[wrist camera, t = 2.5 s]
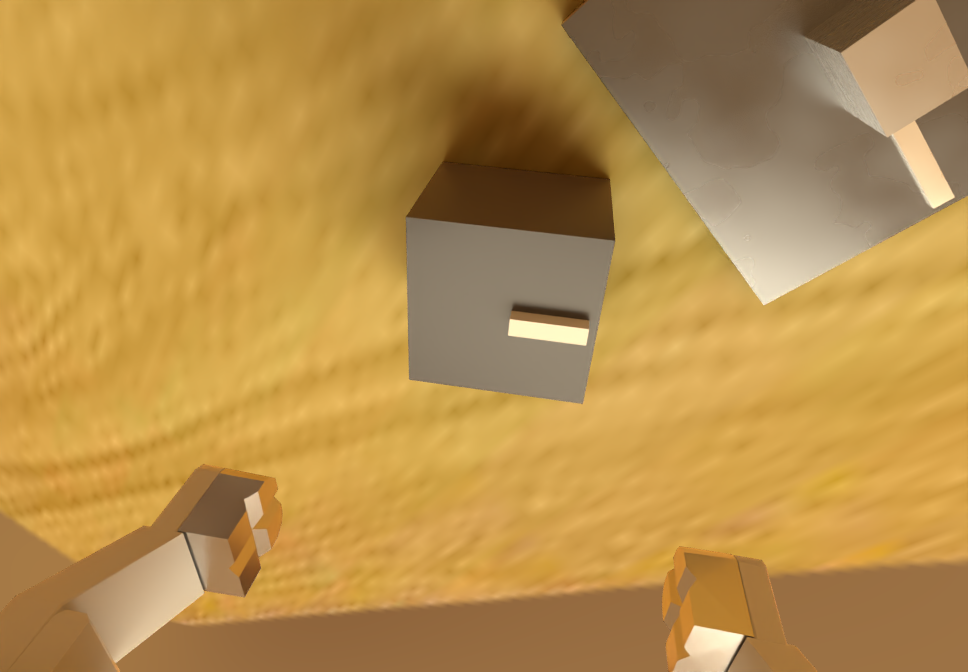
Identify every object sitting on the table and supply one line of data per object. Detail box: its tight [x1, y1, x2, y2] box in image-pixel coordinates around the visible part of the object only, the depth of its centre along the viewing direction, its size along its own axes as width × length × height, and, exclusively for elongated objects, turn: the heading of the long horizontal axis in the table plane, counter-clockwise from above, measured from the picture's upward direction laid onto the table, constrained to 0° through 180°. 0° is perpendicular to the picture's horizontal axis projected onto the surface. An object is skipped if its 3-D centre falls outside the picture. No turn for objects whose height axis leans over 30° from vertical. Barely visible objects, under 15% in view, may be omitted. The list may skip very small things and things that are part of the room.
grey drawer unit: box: [406, 162, 615, 404], centre depth 20 cm, size 6×6×6 cm
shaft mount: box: [562, 0, 968, 305], centre depth 16 cm, size 12×12×4 cm
